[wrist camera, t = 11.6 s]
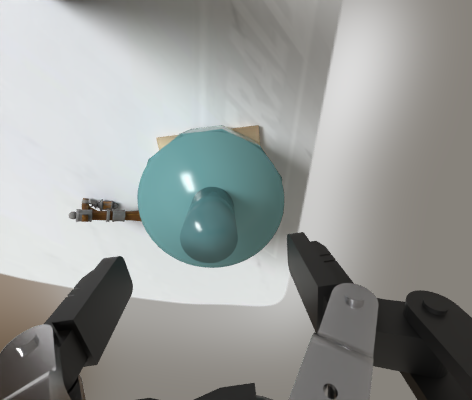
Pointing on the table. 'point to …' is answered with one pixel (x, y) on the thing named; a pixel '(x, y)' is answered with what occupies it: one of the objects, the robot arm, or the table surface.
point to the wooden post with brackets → (103, 212)
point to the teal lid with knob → (211, 197)
